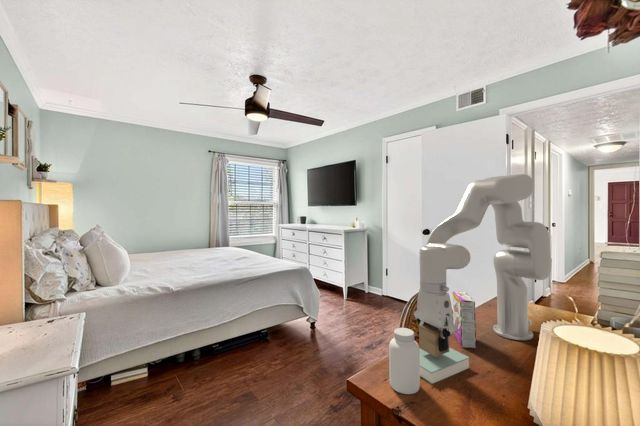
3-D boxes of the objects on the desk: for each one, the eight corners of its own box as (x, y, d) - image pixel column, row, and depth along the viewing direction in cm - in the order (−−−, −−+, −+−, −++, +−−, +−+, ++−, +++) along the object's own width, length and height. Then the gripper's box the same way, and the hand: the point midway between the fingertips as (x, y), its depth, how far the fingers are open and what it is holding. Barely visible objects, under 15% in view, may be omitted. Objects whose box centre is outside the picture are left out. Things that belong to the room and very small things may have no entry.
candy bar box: (452, 333, 109) (451, 291, 108) (466, 334, 108) (466, 291, 107) (460, 348, 98) (460, 300, 97) (476, 349, 97) (476, 301, 96)
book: (400, 364, 89) (400, 353, 89) (436, 351, 96) (436, 341, 96) (431, 385, 78) (431, 372, 78) (469, 368, 86) (469, 357, 86)
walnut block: (433, 343, 91) (432, 321, 91) (449, 351, 86) (449, 328, 86) (419, 348, 88) (418, 325, 88) (435, 356, 83) (434, 332, 83)
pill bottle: (416, 399, 72) (415, 340, 72) (385, 389, 76) (384, 333, 76) (423, 382, 79) (422, 328, 79) (394, 374, 83) (393, 323, 83)
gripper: (467, 292, 81) (468, 355, 81) (420, 279, 96) (421, 332, 96) (449, 296, 77) (450, 362, 78) (403, 282, 93) (404, 337, 93)
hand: (434, 345), depth 87 cm, fingers closed on walnut block, 6 cm apart
